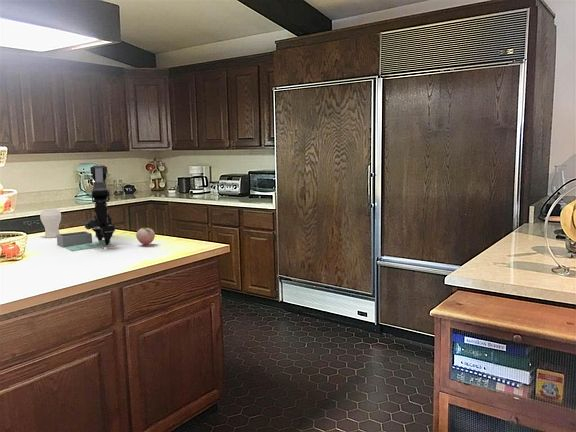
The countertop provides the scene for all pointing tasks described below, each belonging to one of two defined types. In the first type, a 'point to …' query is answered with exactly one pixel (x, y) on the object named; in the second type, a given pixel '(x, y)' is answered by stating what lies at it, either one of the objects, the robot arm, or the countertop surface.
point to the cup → (51, 222)
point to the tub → (74, 239)
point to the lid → (87, 246)
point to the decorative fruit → (145, 235)
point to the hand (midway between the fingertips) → (103, 243)
